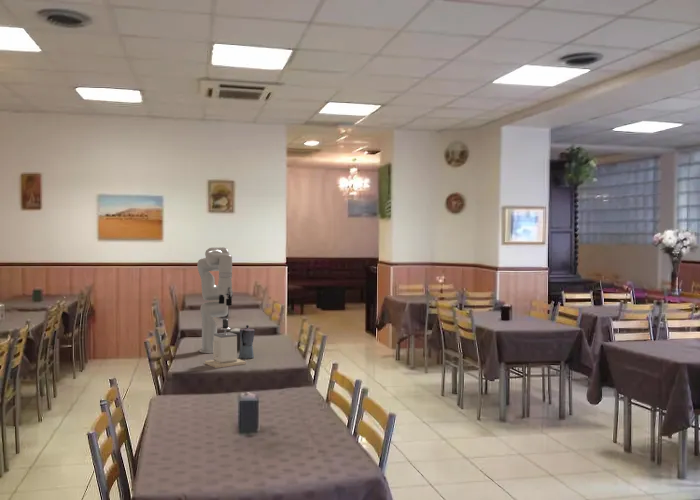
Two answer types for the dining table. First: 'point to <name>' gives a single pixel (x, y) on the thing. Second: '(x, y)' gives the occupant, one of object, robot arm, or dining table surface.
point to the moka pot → (246, 343)
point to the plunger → (225, 326)
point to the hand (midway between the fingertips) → (225, 304)
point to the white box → (225, 351)
